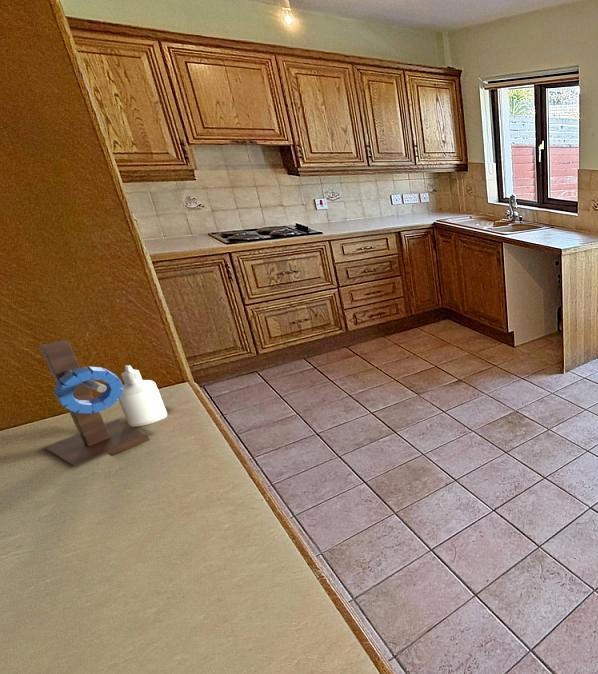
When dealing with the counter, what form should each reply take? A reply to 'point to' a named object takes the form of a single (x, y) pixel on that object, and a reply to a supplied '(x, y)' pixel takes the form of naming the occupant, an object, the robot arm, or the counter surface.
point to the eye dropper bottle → (140, 399)
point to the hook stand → (87, 415)
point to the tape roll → (83, 374)
